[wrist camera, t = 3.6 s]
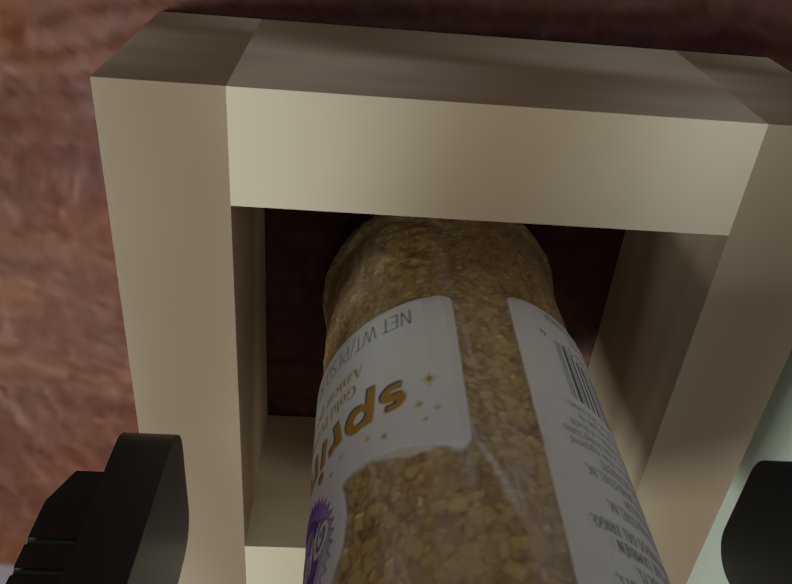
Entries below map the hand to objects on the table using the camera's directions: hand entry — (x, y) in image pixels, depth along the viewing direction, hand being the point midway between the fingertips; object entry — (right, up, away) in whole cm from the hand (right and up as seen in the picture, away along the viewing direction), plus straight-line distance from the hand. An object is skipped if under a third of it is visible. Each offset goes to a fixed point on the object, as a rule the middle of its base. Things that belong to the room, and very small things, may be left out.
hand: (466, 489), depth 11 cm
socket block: (0, +3, +4) cm, 5 cm away
